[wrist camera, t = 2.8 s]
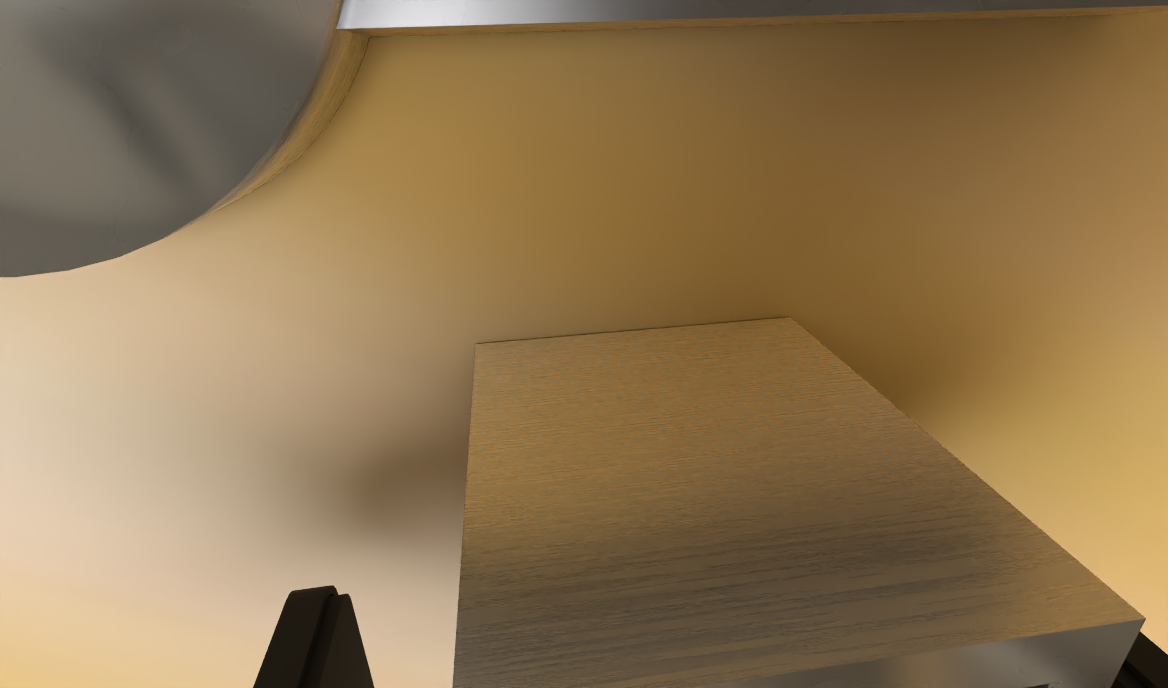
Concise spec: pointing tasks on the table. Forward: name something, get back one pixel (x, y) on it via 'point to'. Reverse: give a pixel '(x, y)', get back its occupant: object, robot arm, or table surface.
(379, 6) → the ratchet
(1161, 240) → the table surface
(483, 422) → the socket
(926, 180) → the table surface
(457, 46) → the table surface
